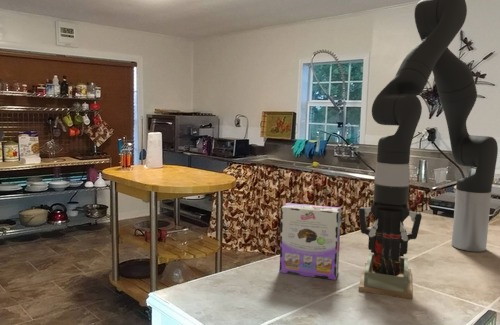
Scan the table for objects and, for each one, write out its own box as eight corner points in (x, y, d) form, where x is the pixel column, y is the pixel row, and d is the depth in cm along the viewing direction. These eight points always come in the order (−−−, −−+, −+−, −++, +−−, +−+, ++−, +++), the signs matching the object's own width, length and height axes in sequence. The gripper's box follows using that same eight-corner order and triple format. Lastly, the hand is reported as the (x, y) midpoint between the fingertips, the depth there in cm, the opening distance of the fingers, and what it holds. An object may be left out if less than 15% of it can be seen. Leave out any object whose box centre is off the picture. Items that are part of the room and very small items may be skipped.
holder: (364, 266, 109) (365, 251, 109) (410, 273, 106) (411, 257, 105) (358, 290, 94) (359, 273, 94) (411, 299, 91) (413, 280, 90)
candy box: (338, 272, 105) (342, 206, 103) (335, 281, 100) (338, 211, 98) (284, 264, 110) (286, 201, 108) (278, 272, 104) (280, 206, 102)
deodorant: (401, 277, 97) (405, 212, 95) (373, 274, 98) (377, 210, 96) (397, 268, 102) (401, 206, 101) (372, 266, 104) (375, 205, 102)
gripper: (424, 182, 99) (419, 253, 101) (360, 177, 104) (357, 245, 106) (426, 187, 92) (420, 263, 94) (357, 182, 97) (353, 254, 99)
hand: (387, 253), depth 100 cm, fingers closed on deodorant, 6 cm apart
